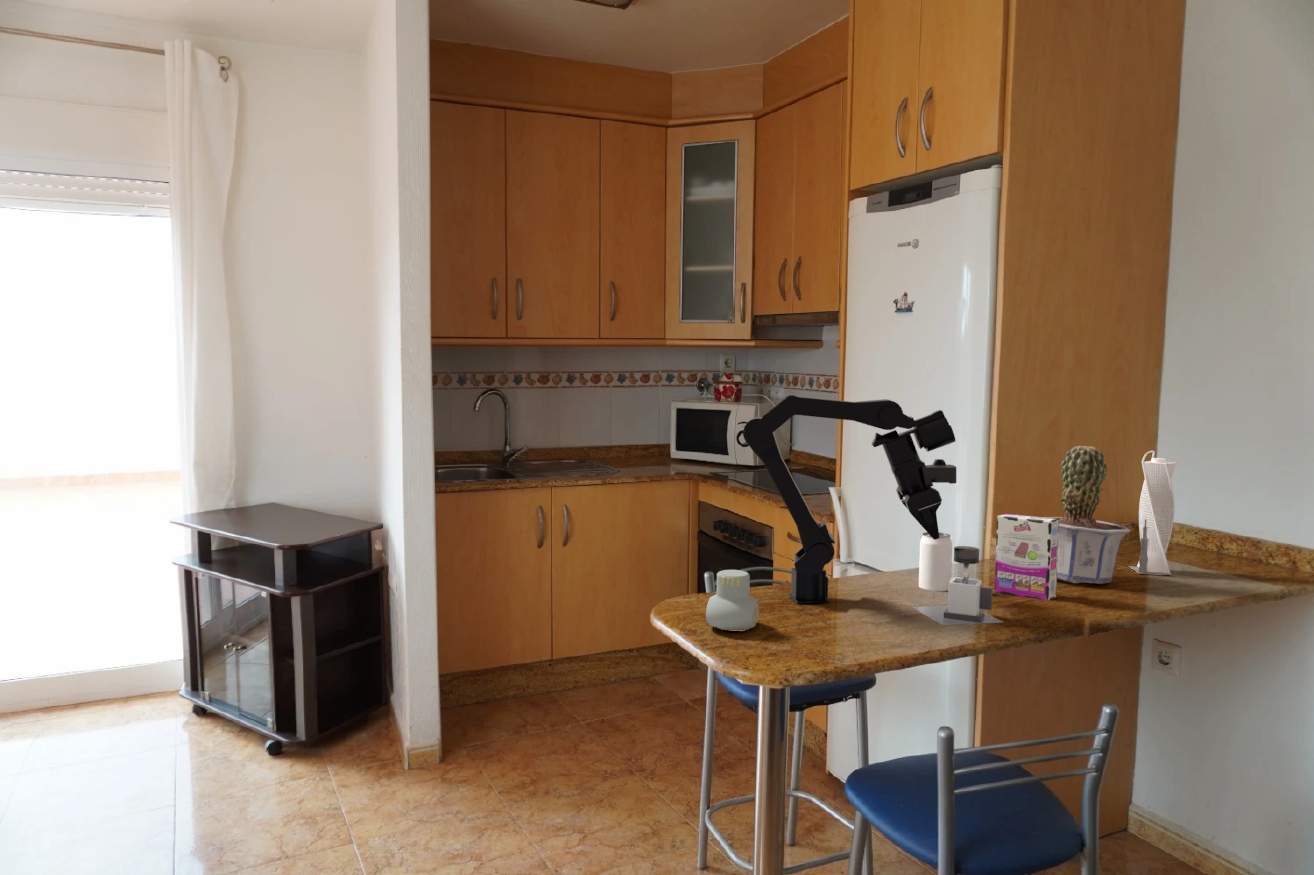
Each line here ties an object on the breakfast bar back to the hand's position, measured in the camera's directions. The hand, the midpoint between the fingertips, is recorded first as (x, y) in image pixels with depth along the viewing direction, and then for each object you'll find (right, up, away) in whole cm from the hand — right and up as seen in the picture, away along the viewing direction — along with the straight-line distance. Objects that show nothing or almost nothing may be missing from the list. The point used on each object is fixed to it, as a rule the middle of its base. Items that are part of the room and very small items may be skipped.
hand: (933, 534), depth 173 cm
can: (+4, -14, +13) cm, 19 cm away
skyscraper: (+61, -12, +32) cm, 70 cm away
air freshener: (-41, -15, -14) cm, 46 cm away
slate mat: (+2, -15, -8) cm, 17 cm away
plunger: (+3, -9, -9) cm, 13 cm away
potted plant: (+40, -13, +23) cm, 48 cm away
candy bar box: (+22, -14, +10) cm, 28 cm away
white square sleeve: (+3, -14, -9) cm, 17 cm away
